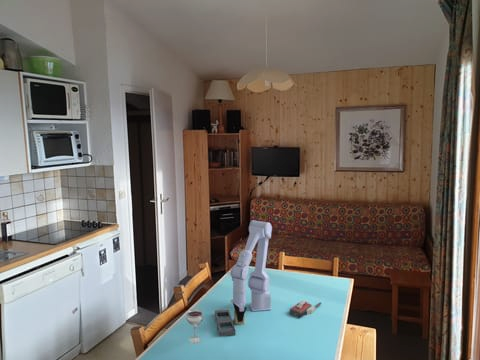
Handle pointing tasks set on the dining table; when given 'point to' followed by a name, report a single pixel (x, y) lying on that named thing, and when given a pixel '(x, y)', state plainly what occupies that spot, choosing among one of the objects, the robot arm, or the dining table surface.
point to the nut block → (236, 319)
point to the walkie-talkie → (303, 309)
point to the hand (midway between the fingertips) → (239, 319)
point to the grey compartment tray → (224, 323)
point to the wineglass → (194, 322)
